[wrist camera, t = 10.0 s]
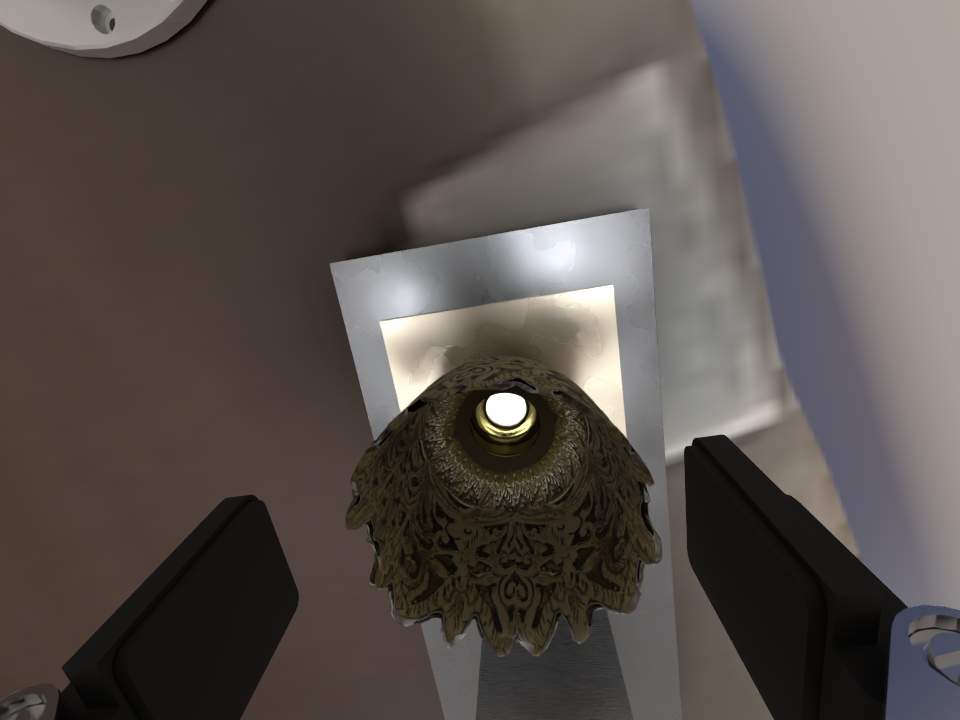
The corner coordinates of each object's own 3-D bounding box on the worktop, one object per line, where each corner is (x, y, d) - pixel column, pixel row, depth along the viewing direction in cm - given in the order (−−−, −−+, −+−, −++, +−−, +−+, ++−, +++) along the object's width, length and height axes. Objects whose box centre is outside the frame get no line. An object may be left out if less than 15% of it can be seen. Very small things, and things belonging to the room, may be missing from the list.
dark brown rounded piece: (398, 333, 17) (307, 412, 10) (587, 302, 17) (649, 362, 9) (436, 497, 19) (385, 671, 12) (607, 477, 18) (673, 652, 11)
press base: (343, 261, 18) (223, 281, 11) (637, 209, 17) (737, 190, 9) (456, 719, 25) (430, 931, 18) (672, 709, 24) (747, 934, 16)
